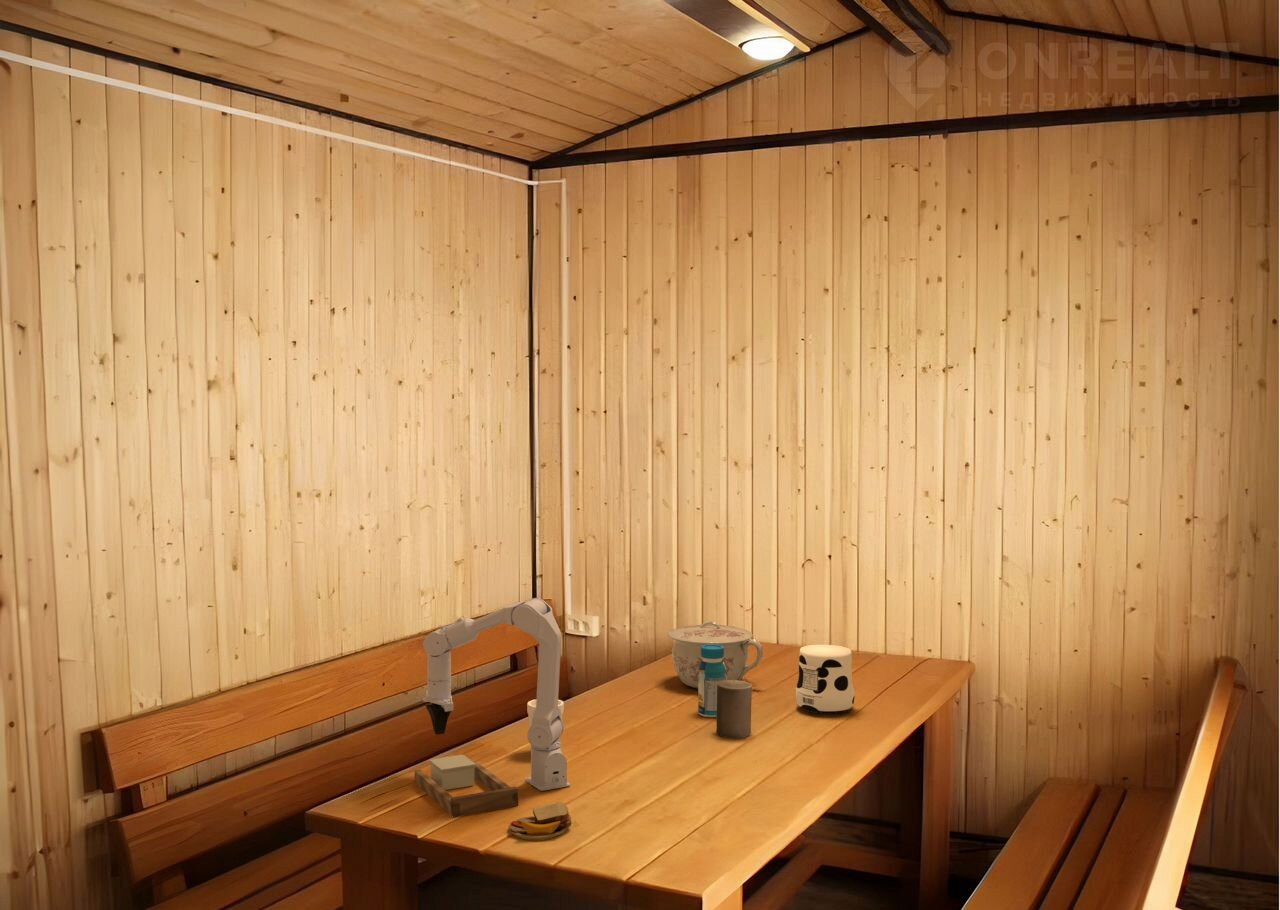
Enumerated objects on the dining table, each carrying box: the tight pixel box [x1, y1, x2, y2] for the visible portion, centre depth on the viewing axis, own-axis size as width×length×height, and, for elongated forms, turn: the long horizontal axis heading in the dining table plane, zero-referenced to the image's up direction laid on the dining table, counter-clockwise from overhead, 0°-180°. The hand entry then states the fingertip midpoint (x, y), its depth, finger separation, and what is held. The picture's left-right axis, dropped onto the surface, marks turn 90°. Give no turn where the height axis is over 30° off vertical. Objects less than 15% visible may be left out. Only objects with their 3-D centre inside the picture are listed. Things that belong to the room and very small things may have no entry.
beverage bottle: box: [697, 644, 727, 718], centre depth 346 cm, size 8×8×20 cm
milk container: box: [795, 644, 856, 715], centre depth 351 cm, size 17×17×18 cm
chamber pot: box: [667, 620, 764, 690], centre depth 380 cm, size 28×28×21 cm
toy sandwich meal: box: [508, 801, 572, 841], centre depth 254 cm, size 12×14×5 cm
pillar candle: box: [715, 680, 753, 739], centre depth 327 cm, size 10×10×15 cm
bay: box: [414, 760, 519, 818], centre depth 277 cm, size 26×16×4 cm, turn 29°
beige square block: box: [428, 754, 476, 791], centre depth 284 cm, size 9×9×5 cm
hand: (439, 733), depth 292 cm, fingers closed
